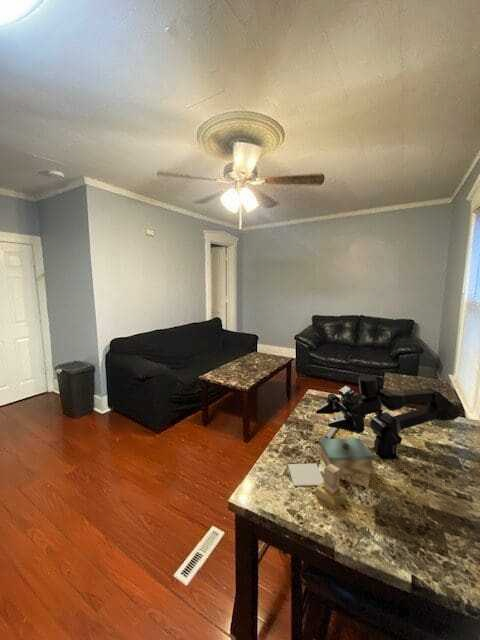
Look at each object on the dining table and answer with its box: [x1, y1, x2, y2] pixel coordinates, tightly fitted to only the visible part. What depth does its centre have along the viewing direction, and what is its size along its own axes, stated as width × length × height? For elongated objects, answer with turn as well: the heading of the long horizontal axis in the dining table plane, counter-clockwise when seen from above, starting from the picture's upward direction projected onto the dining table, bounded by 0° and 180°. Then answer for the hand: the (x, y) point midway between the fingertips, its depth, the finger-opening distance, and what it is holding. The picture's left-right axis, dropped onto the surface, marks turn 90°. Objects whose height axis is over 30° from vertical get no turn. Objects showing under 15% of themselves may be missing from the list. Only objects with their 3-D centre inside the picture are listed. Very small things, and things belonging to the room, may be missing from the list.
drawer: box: [319, 437, 375, 475], centre depth 97 cm, size 15×11×7 cm
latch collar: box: [315, 482, 348, 511], centre depth 82 cm, size 6×6×3 cm
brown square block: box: [323, 464, 340, 495], centre depth 81 cm, size 3×3×10 cm
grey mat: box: [287, 462, 324, 487], centre depth 92 cm, size 10×10×1 cm
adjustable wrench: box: [322, 412, 343, 439], centre depth 122 cm, size 25×6×2 cm, turn 139°
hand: (322, 418), depth 96 cm, fingers open, 9 cm apart
